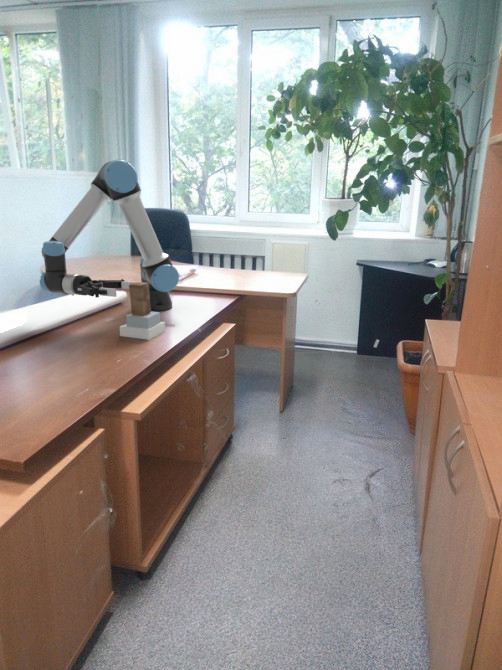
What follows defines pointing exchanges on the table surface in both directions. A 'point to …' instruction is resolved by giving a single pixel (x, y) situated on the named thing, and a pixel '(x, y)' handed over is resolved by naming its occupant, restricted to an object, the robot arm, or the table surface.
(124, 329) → the tower base
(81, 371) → the table surface
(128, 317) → the tower top
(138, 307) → the walnut block
